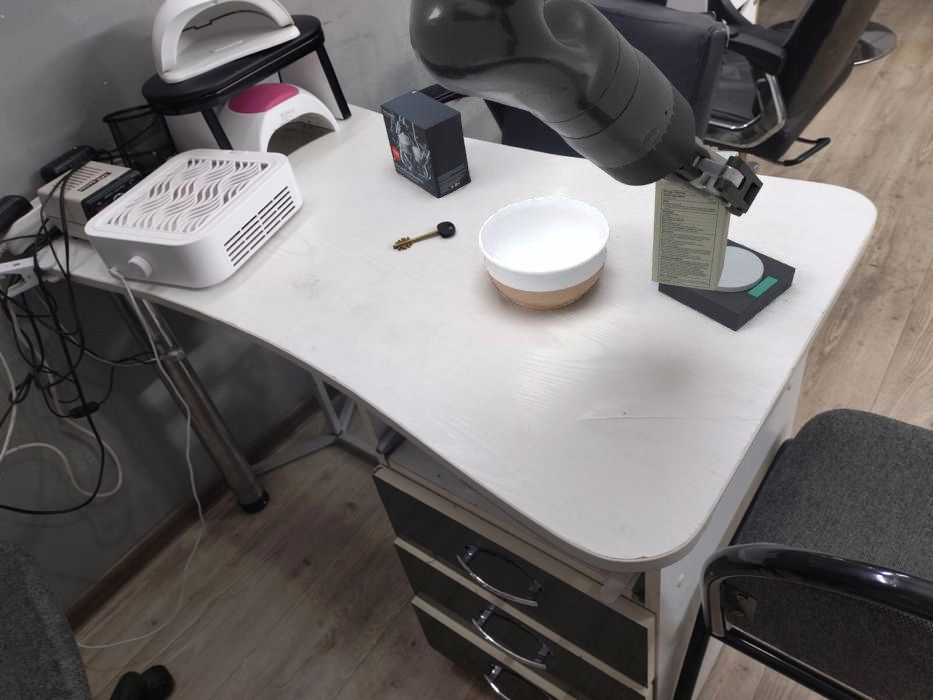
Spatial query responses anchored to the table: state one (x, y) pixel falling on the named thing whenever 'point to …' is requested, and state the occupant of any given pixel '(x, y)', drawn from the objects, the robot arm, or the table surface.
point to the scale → (737, 287)
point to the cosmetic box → (689, 236)
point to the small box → (426, 142)
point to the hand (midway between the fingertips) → (704, 190)
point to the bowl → (545, 250)
